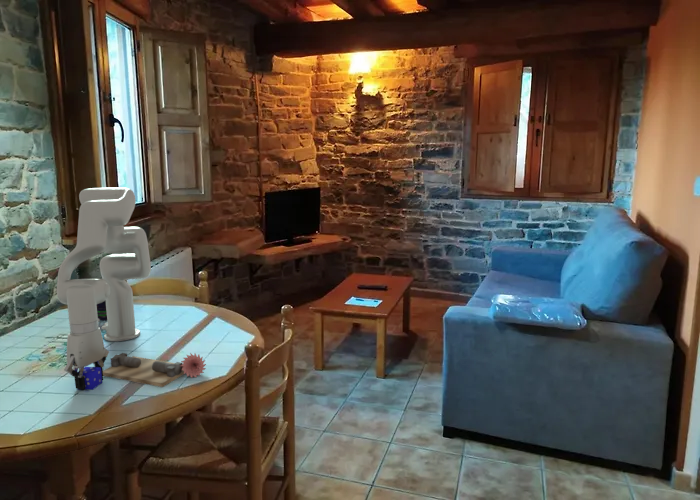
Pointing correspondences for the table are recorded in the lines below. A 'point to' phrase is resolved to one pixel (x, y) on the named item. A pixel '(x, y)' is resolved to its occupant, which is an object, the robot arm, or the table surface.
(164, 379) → the shaft bed
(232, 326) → the table surface
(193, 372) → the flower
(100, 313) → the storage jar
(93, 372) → the die
